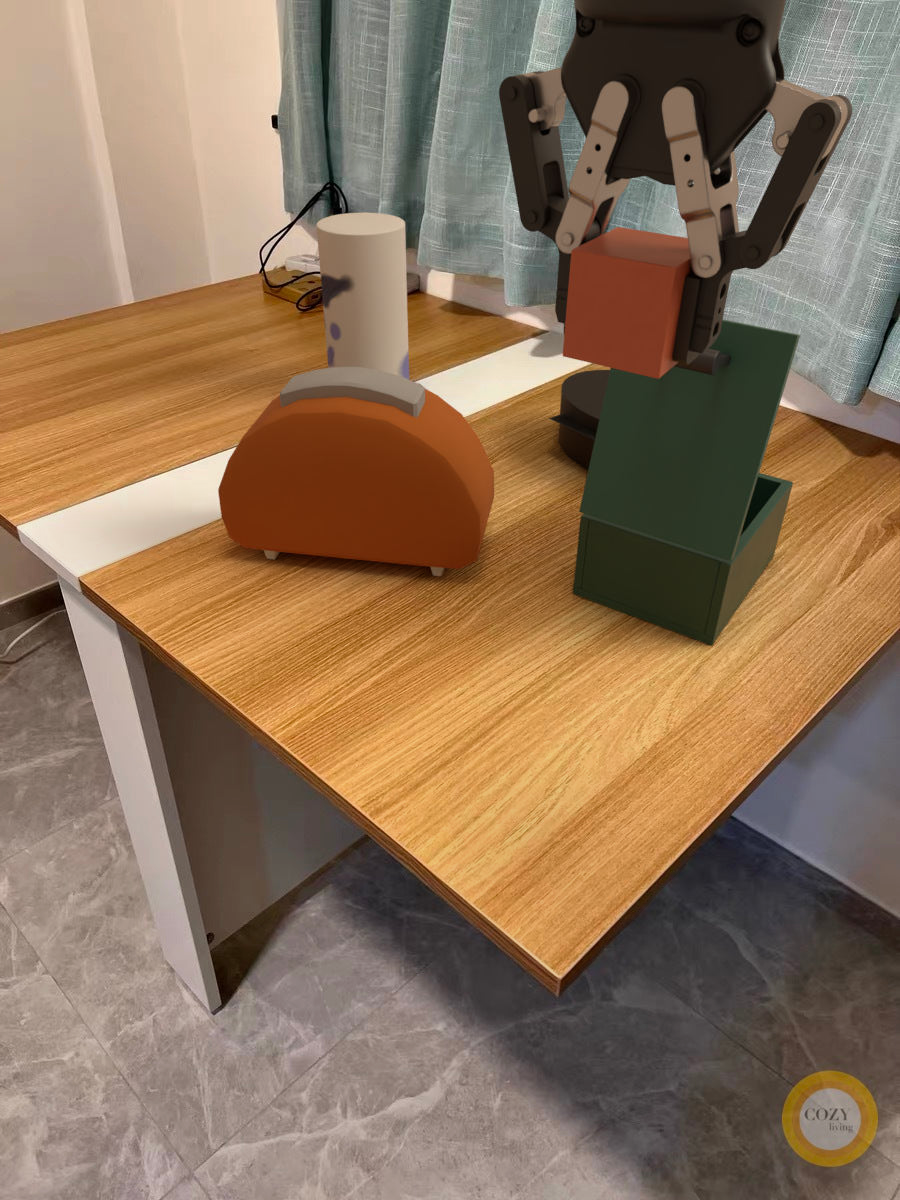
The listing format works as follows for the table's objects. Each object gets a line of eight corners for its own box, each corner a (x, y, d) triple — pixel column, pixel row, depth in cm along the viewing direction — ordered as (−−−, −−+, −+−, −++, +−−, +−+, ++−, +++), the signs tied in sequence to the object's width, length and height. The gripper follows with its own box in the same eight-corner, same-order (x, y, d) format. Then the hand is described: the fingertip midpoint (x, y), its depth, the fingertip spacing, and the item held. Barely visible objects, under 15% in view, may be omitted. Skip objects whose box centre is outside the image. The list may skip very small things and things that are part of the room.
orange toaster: (493, 532, 85) (500, 363, 75) (480, 585, 77) (485, 406, 68) (259, 510, 88) (235, 345, 78) (225, 559, 81) (194, 385, 71)
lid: (629, 300, 65) (600, 300, 61) (800, 334, 60) (782, 336, 56) (582, 510, 72) (554, 522, 68) (733, 559, 66) (712, 575, 62)
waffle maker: (619, 417, 108) (622, 357, 104) (734, 467, 95) (742, 401, 91) (523, 450, 102) (523, 388, 97) (632, 508, 89) (636, 439, 85)
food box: (646, 516, 87) (657, 444, 82) (773, 556, 81) (793, 481, 77) (572, 593, 77) (580, 516, 72) (712, 645, 71) (730, 565, 66)
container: (314, 388, 112) (298, 220, 100) (375, 367, 118) (367, 206, 106) (363, 412, 106) (352, 237, 94) (425, 390, 112) (423, 222, 100)
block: (697, 347, 41) (716, 242, 38) (658, 379, 38) (676, 267, 35) (606, 327, 43) (617, 226, 40) (562, 356, 40) (571, 249, 37)
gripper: (458, -149, 30) (454, 338, 41) (899, -171, 24) (763, 412, 34) (560, -135, 35) (533, 295, 46) (946, -150, 29) (816, 353, 39)
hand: (632, 343), depth 40 cm, fingers closed on block, 4 cm apart
